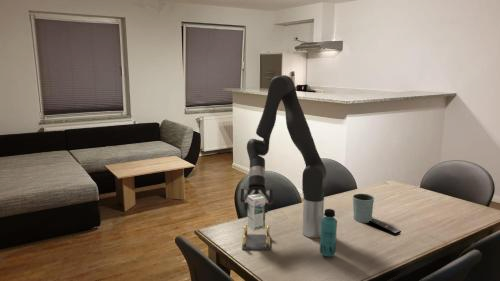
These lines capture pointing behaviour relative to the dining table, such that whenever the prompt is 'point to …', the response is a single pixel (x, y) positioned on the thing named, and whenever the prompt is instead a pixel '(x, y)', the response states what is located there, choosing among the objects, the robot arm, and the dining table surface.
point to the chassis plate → (256, 240)
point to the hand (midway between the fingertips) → (256, 212)
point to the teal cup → (363, 207)
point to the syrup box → (256, 212)
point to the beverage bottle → (328, 233)
